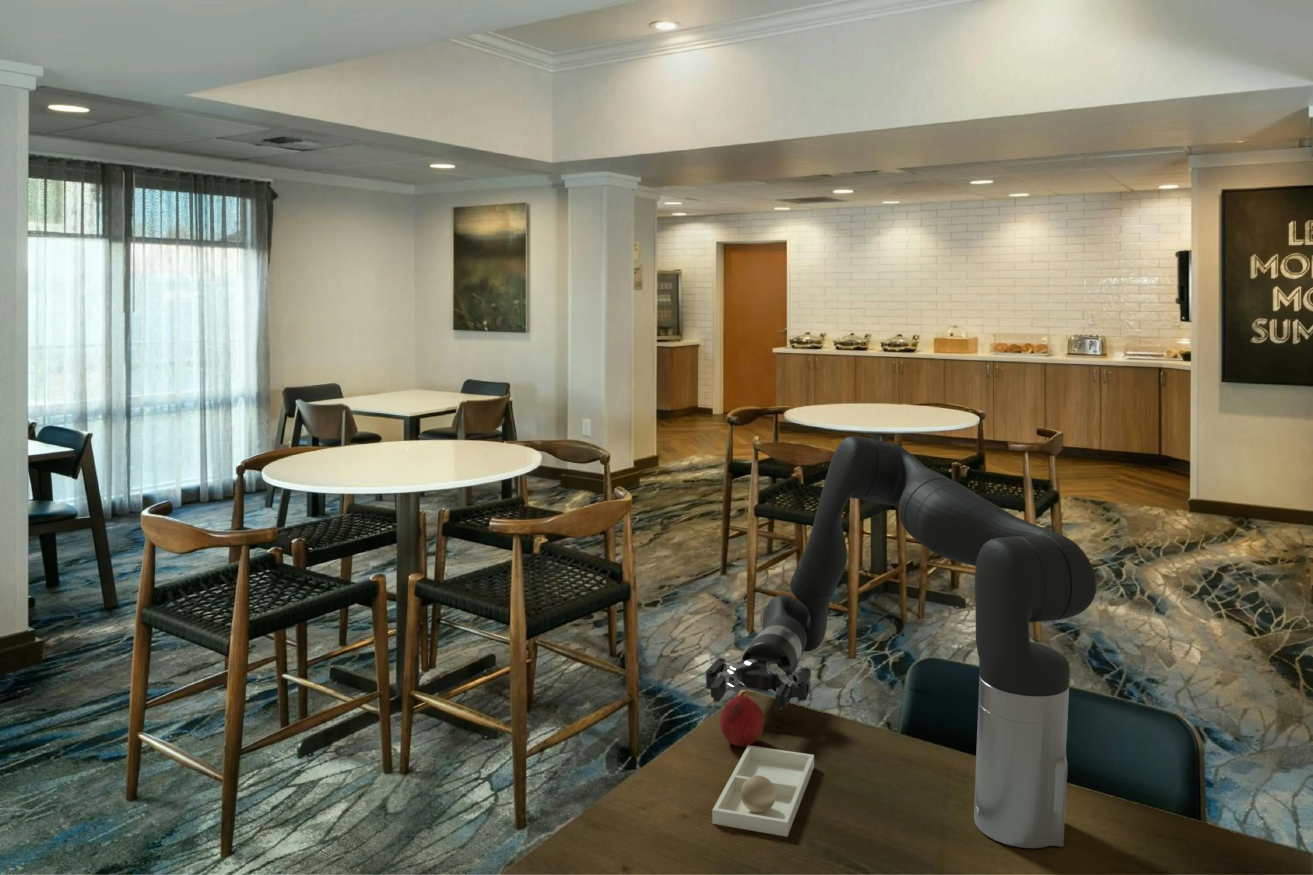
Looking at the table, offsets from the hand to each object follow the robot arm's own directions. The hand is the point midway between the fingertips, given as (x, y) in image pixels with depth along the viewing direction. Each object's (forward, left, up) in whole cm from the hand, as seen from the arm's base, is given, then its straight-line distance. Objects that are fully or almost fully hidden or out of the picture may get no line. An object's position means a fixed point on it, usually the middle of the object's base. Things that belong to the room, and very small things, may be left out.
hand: (746, 698), depth 128 cm
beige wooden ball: (-6, +18, -5) cm, 20 cm away
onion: (0, +2, -6) cm, 7 cm away
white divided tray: (-6, +14, -6) cm, 17 cm away
